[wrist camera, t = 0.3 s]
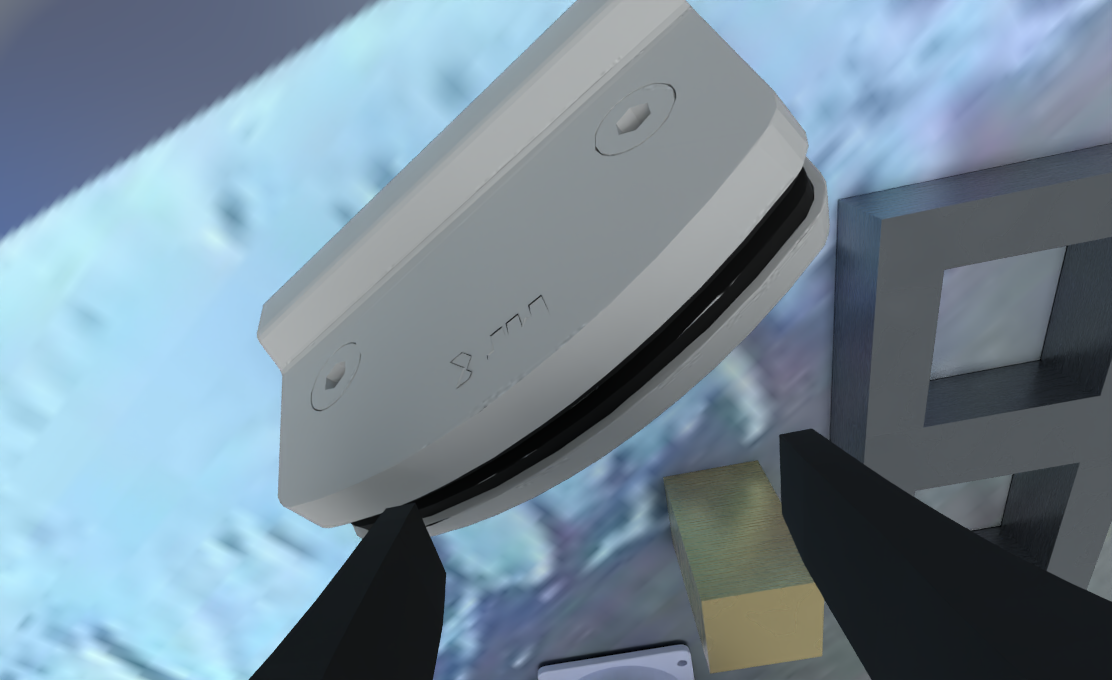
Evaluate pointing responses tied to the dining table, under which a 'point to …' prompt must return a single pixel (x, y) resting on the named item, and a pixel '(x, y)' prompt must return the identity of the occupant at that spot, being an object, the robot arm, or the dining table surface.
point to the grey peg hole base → (993, 395)
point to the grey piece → (542, 273)
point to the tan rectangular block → (742, 569)
